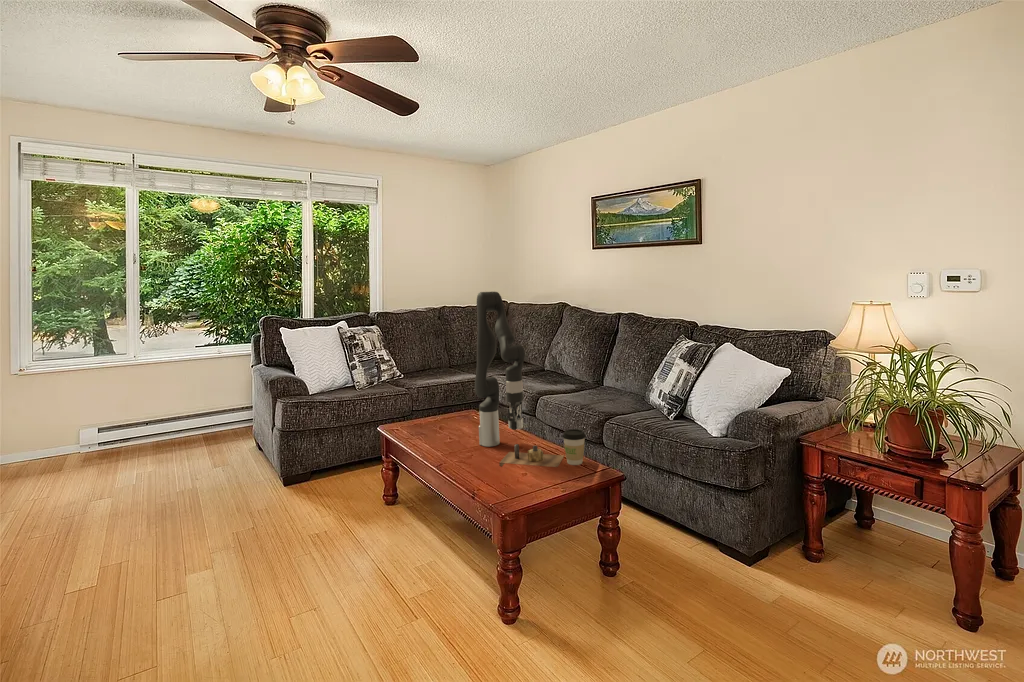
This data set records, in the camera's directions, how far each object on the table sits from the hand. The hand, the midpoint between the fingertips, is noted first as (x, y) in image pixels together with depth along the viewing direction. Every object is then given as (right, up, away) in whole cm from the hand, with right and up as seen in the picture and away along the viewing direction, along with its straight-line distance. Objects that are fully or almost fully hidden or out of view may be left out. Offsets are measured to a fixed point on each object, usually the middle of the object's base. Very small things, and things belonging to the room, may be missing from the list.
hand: (516, 427), depth 234 cm
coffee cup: (+25, -16, -6) cm, 30 cm away
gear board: (+7, -15, 0) cm, 17 cm away
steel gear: (0, 0, 0) cm, 0 cm away
